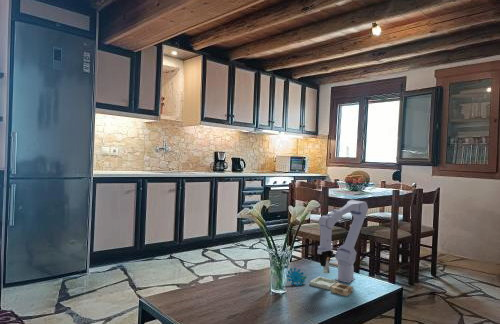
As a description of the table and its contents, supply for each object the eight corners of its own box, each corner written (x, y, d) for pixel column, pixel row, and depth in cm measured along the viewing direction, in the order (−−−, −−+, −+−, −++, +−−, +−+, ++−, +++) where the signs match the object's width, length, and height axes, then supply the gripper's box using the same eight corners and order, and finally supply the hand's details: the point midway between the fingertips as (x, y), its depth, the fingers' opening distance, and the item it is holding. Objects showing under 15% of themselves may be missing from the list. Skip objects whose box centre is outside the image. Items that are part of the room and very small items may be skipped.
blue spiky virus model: (288, 284, 177) (286, 265, 184) (284, 289, 181) (283, 271, 188) (308, 286, 179) (306, 268, 186) (304, 291, 183) (302, 273, 190)
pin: (325, 271, 184) (323, 256, 185) (331, 272, 181) (330, 256, 182) (321, 273, 181) (320, 257, 182) (328, 273, 178) (327, 257, 179)
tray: (319, 279, 190) (319, 276, 190) (338, 284, 183) (338, 281, 183) (309, 284, 181) (309, 281, 181) (329, 290, 174) (329, 286, 174)
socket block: (337, 287, 179) (337, 282, 179) (352, 291, 174) (353, 286, 174) (330, 291, 172) (331, 286, 172) (346, 296, 167) (346, 291, 167)
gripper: (324, 235, 190) (323, 260, 190) (312, 240, 179) (311, 266, 179) (337, 237, 186) (336, 263, 186) (325, 242, 174) (324, 269, 174)
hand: (324, 265), depth 182 cm, fingers closed on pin, 4 cm apart
